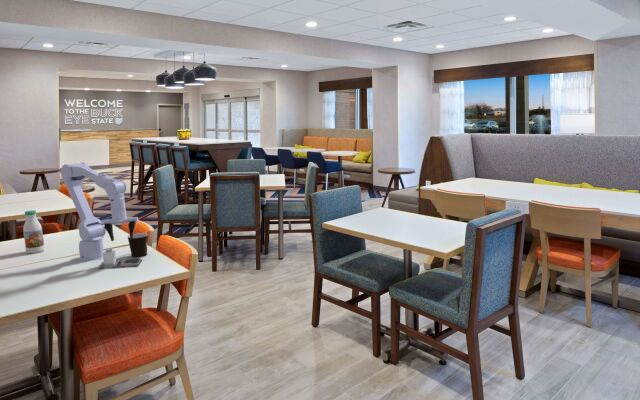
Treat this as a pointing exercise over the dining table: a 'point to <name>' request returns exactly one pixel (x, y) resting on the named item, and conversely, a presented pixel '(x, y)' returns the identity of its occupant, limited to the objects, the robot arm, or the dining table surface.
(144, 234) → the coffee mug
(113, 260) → the plug
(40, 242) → the milk bottle
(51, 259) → the dining table surface
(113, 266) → the panel
